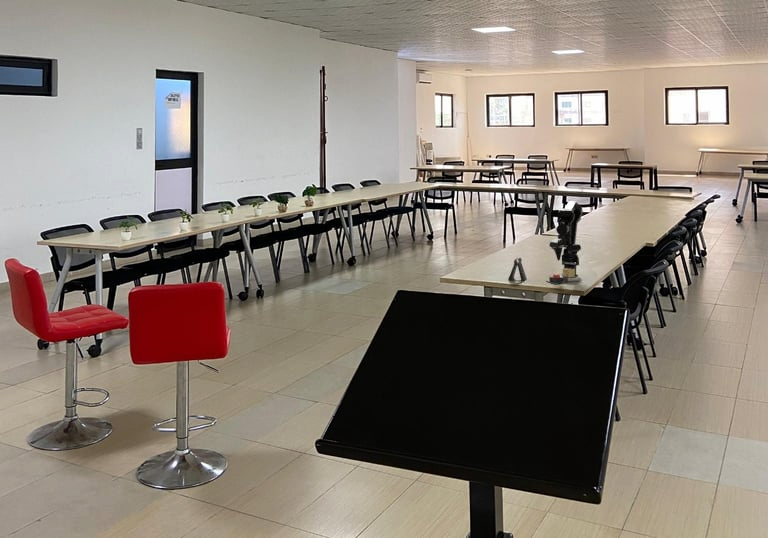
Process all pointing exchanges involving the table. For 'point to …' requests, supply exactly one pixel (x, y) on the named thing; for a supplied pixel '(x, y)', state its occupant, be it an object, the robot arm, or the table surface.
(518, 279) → the phone stand
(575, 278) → the ball holder tray
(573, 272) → the billet
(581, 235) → the table surface
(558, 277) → the red rounded part
